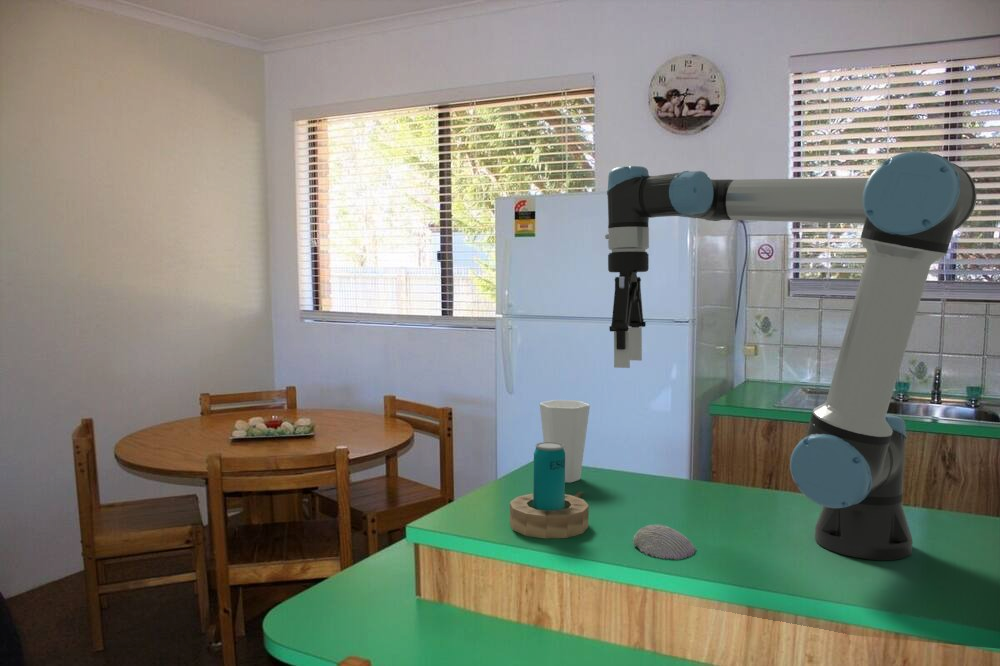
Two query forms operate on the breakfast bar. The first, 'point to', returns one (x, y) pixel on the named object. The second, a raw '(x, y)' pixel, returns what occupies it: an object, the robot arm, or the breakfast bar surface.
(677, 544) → the seashell
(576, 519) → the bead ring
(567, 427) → the cup
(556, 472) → the beverage can
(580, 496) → the brown stick
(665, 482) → the breakfast bar surface
